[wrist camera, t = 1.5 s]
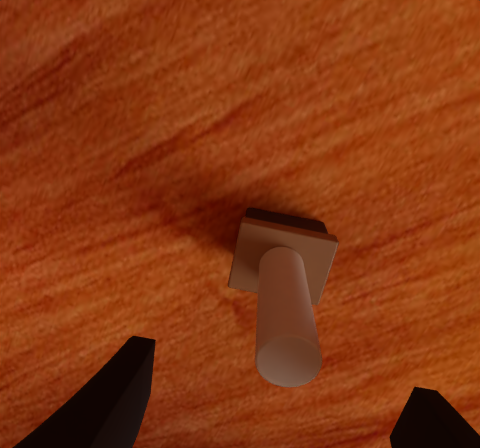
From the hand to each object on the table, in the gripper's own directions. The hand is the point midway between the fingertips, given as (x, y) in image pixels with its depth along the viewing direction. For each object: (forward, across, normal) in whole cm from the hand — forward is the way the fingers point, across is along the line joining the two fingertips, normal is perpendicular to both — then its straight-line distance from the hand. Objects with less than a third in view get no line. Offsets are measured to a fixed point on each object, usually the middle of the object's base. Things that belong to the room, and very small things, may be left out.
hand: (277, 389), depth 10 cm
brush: (+10, 0, 0) cm, 10 cm away
